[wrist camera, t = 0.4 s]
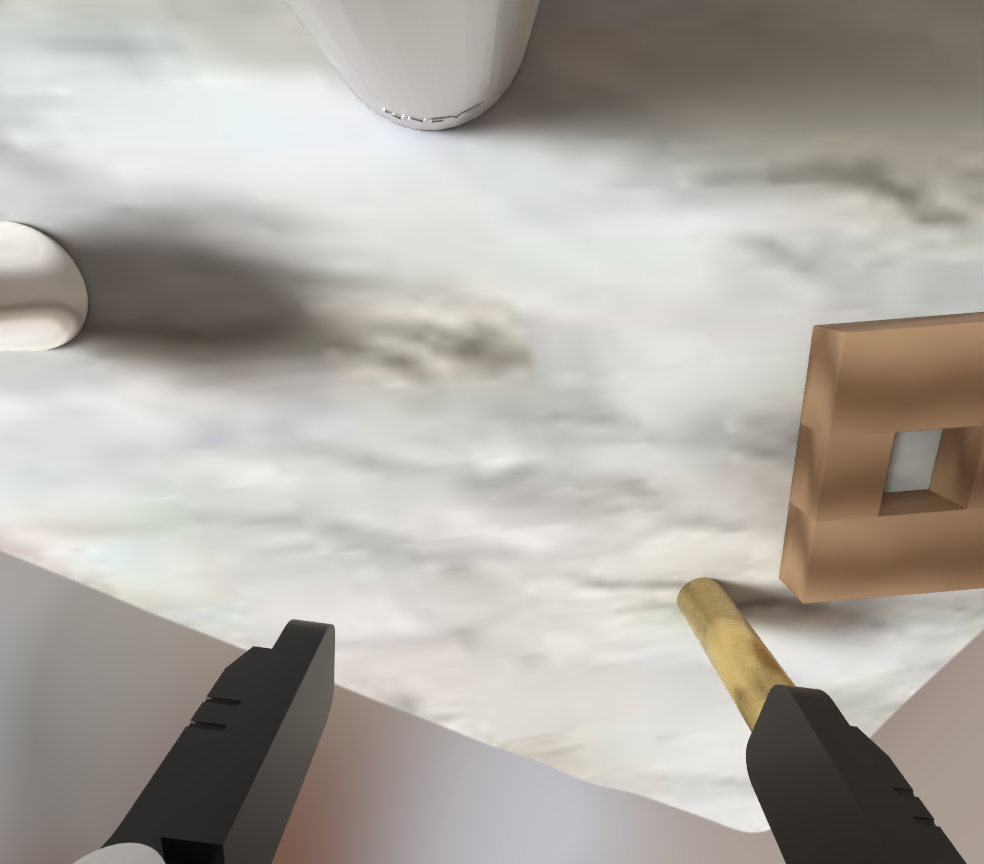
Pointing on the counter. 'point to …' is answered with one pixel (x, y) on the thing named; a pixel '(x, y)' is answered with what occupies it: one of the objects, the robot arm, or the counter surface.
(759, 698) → the peg
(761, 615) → the counter surface
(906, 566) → the block
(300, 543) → the counter surface
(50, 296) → the beer glass
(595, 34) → the counter surface
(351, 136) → the counter surface
